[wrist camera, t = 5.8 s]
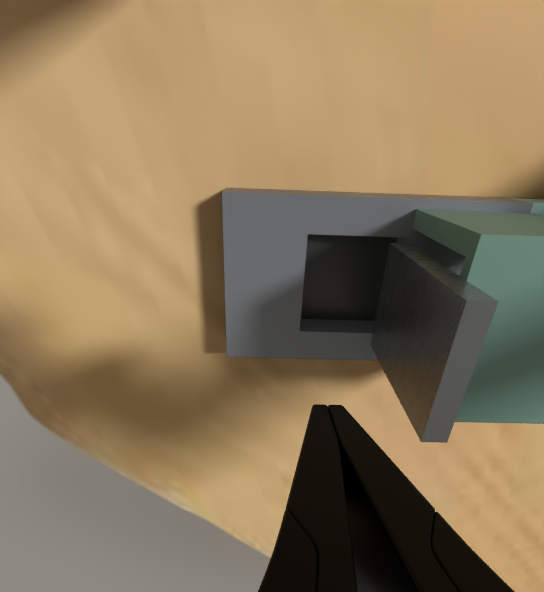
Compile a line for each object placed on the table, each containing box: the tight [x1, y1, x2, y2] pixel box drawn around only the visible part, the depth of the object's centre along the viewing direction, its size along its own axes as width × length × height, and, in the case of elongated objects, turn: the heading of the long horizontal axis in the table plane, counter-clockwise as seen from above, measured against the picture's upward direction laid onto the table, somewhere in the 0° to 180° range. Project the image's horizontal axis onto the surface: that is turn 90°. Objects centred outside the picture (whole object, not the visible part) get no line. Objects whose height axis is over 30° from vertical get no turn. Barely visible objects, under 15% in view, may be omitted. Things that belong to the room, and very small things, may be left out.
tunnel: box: [412, 209, 544, 424], centre depth 16 cm, size 6×9×6 cm, turn 178°
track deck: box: [222, 188, 544, 360], centre depth 19 cm, size 23×10×2 cm, turn 88°
